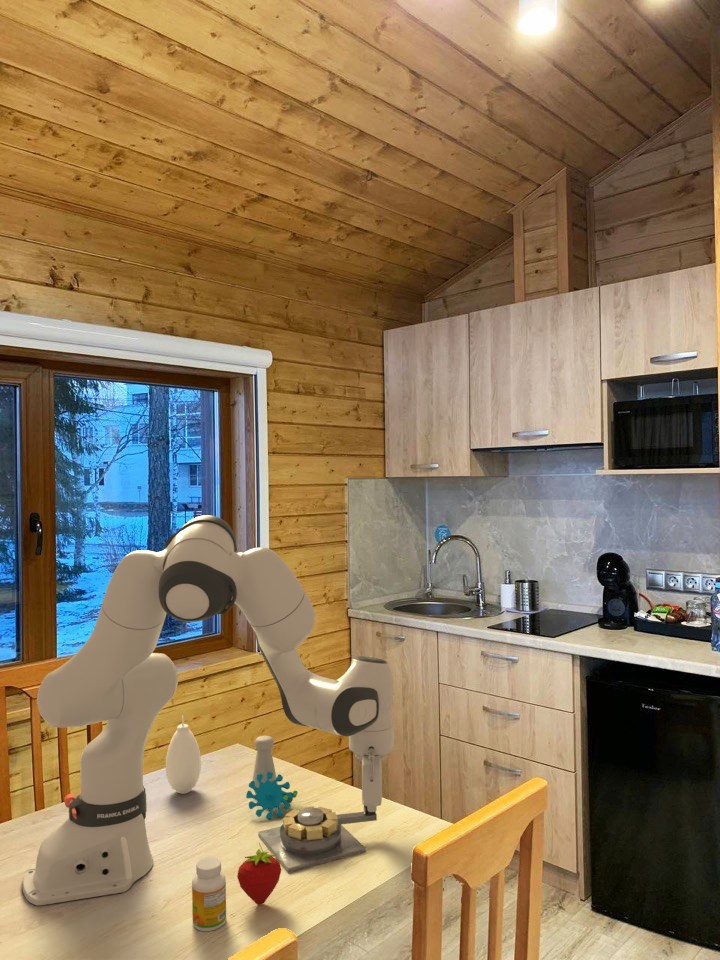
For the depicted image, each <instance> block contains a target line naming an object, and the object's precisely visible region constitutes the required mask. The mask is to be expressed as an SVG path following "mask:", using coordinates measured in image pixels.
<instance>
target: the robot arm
mask: <svg viewBox="0 0 720 960" xmlns="http://www.w3.org/2000/svg"><path fill="white" fill-rule="evenodd" d="M234 604H235V606H237V607H238V608H239V610H241V612H242V613H243V615H244V617H245V618H246V620H247V622H248V624H249V625H250V626H251V628H252V629H253V631H254V633H255V640H256V644H257V646H258V649H259V651H260V653H261V656H262V657H263V660H264V662H265V664H266V666H267V668H268V670H269V672H270V674H271V675H272V678H273V680H274V682H275V683H276V686H277V688H278V691H279V695H280V700H281V705H282V709H283V712H284V714H285V717H286V718H287V719H288V720H289V721H290V722H291V723H293V724H294V725H297V726H303V727H307V728H313V729H317V730H320V731H323V732H326V733H330V734H333V735H336V736H340V737H348V749H349V751H351V752H352V753H354V754H355V758H356V759H357V760H358V761H361V802H362V806H363V807H364V806H367V810H368V811H369V812H375V811H376V812H377V810H378V809H377V808H378V807H379V806H381V805H382V802H383V793H382V792H383V788H382V787H383V784H382V775H383V773H382V761H384V760H386V759H387V758H388V753H390V752H392V751H393V750H394V748H395V745H394V743H395V742H394V741H395V738H394V730H395V729H394V727H395V726H394V719H393V714H392V708H393V705H394V683H393V676H392V675H393V674H392V670H391V666H390V664H389V663H388V662H387V661H386V660H384V659H380V658H377V657H369V656H356V657H353V658H352V659H351V662H350V666H349V668H348V669H347V671H345V673H344V674H343V675H342V676H340V677H339V678H337V679H332V678H328V677H324V676H321V675H318V674H316V673H313V672H311V671H310V670H309V669H308V668H306V666H305V665H304V663H303V660H302V659H301V656H300V653H298V647H300V646H301V645H302V644H303V643H304V642H305V641H306V640H307V639H308V638H309V636H310V635H311V633H312V631H313V629H314V628H315V627H314V626H315V622H316V613H315V610H314V606H313V604H312V601H311V599H310V598H309V596H308V594H307V592H306V591H305V588H304V587H303V586H302V584H301V582H300V581H299V579H298V578H297V576H296V575H295V574H294V572H293V571H292V570H291V568H290V567H289V565H287V563H286V562H285V561H284V560H283V559H282V558H281V557H280V556H279V554H277V552H275V551H274V550H273V549H271V548H268V547H263V546H262V547H259V546H258V547H253V548H250V549H247V550H246V551H244V552H237V541H236V536H235V534H234V531H233V529H232V527H231V526H230V524H229V523H228V522H226V521H225V520H224V519H222V518H221V517H219V516H215V515H212V514H211V515H209V514H207V515H200V516H196V517H195V518H194V517H193V518H192V519H190V520H189V521H188V522H186V523H184V525H183V526H182V527H181V528H179V529H178V530H177V531H176V532H175V533H173V534H172V535H171V536H170V537H168V538H167V539H166V541H165V548H164V549H163V550H161V551H158V552H156V551H153V550H146V549H144V550H142V549H141V550H135V551H132V552H129V553H127V554H126V555H124V556H123V558H122V559H121V560H119V563H118V564H117V566H116V568H115V570H114V571H113V573H112V575H111V578H110V580H109V582H108V585H107V588H106V589H105V593H104V595H103V599H102V602H101V607H100V610H99V613H98V617H97V619H96V622H95V625H94V627H93V630H92V632H91V634H90V636H89V638H88V639H87V640H86V641H85V643H84V644H83V645H82V646H81V648H80V649H79V650H78V651H77V652H76V653H75V654H74V655H72V657H70V659H69V660H67V661H66V662H65V663H63V664H62V665H61V666H59V667H58V668H56V669H54V670H53V671H50V672H49V673H47V674H46V676H44V678H43V679H42V680H41V683H40V685H39V687H38V691H37V696H36V703H37V709H38V711H39V714H40V716H41V718H42V719H43V720H44V721H45V722H46V723H47V724H48V725H49V726H51V727H52V728H78V727H79V728H81V727H84V726H88V725H89V726H90V725H94V724H97V723H103V722H106V721H107V722H106V725H105V726H104V727H103V729H102V731H101V732H100V733H99V734H98V735H97V736H96V737H95V738H94V739H92V740H91V741H90V742H88V744H86V746H85V747H84V749H83V751H82V753H81V756H80V759H79V772H80V773H79V774H80V775H79V777H80V794H79V795H77V796H76V795H74V793H67V795H65V797H64V799H63V802H64V806H65V807H66V808H68V818H67V819H66V820H65V821H64V822H62V823H61V824H60V825H59V826H58V827H57V828H56V829H55V830H53V831H52V832H51V833H50V834H49V835H48V836H46V837H45V838H44V839H43V841H42V842H41V844H40V846H39V849H38V853H37V856H36V860H35V861H36V862H35V863H32V864H31V865H29V867H28V868H27V869H26V871H25V872H24V874H23V877H22V891H23V895H24V897H25V899H26V900H27V901H28V902H29V903H30V904H32V905H34V906H44V905H52V904H57V903H64V902H65V903H66V902H70V901H76V900H82V899H88V898H95V897H102V896H108V895H114V894H119V893H120V894H121V893H125V892H126V891H128V890H129V889H130V888H131V887H132V885H133V884H134V882H136V881H137V880H139V879H140V878H141V877H144V876H145V875H146V874H147V873H148V872H149V871H150V870H151V869H152V867H153V864H154V858H153V855H152V852H151V849H150V844H149V840H148V835H147V829H146V819H147V817H146V816H147V810H148V809H147V792H146V788H145V786H144V761H145V760H144V759H145V748H146V747H145V746H146V743H147V738H148V735H149V734H150V731H151V728H152V726H153V724H154V722H155V720H156V719H157V717H158V716H159V714H160V713H161V712H162V710H163V708H165V706H166V705H167V704H168V703H169V702H170V701H171V700H172V699H173V698H174V696H175V693H176V691H177V688H178V684H179V676H178V671H177V667H176V665H175V664H174V662H173V660H171V659H172V658H170V657H169V656H168V655H167V654H165V653H160V652H154V651H155V650H156V647H157V645H158V642H159V640H160V636H161V632H162V630H163V627H164V624H165V620H166V616H167V615H168V616H170V617H171V618H173V619H175V620H177V621H180V622H187V623H197V622H200V621H201V622H202V621H205V620H208V619H210V618H213V617H214V616H216V615H224V614H226V613H228V612H229V611H231V609H232V608H233V606H234Z"/></svg>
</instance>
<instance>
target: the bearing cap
mask: <svg viewBox="0 0 720 960" xmlns="http://www.w3.org/2000/svg"><path fill="white" fill-rule="evenodd" d="M298 811H299V810H298ZM322 823H323V811H322V810H321V809H318V807H314V808H304V809H302V810H300V811H299V812H298V823H297V824H300V825H303V826H314V825H320V824H322ZM257 835H258V837H259V838H260V840H261V841H262V842H263V844H265V846H266V847H267V848H268V850H269V851H270V852H271V854H272V855H276V856H274V858H275V859H276V860H278V861H279V863H280V865H281V866H282V867H283V868H284V870H285V871H286V872H287V873H292V872H296V871H299V870H304V869H307V868H311V867H314V866H319V865H321V864H325V863H329V862H333V861H336V860H340V859H343V858H347V857H351V856H354V855H359V854H361V853H365V852H366V849H367V848H366V846H365V845H364V844H362V843H361V841H359V840H358V839H357V838H356V837H355V836H354V835H353V834H352V833H350V831H349V830H348V829H346V828H345V827H344V826H343V824H341V825H338V828H337V831H336V832H334V833H333V834H331V835H330V836H329V837H326V836H323V839H318V840H309V841H307V839H306V837H305V838H303V839H302V840H298V839H295V838H292V837H289V836H288V834H285V831H284V828H283V824H282V825H281V826H278V827H277V826H276V827H272V828H268V829H265V830H260V831H258V832H257Z"/></svg>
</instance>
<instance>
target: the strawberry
mask: <svg viewBox="0 0 720 960" xmlns="http://www.w3.org/2000/svg"><path fill="white" fill-rule="evenodd" d="M258 845H259V847H260V848H258V849H257V851H256V852H255V854H254V855H249V856H244V859H246V860H245V861H243V862H242V863H241V864H240V866H239V867H238V870H237V875H236V877H237V881H238V883H239V886H240V888H241V890H243V892H244V893H245V894H246V895H247V897H249V899H250V900H252V901H253V902H254V903H255V904H256V905H257V906H261V905H262V906H263V904H265V903H266V901H267V899H268V898H269V897H270V896H271V895H272V893H273V892H274V890H275V888H276V886H277V884H278V883H279V881H280V877H281V874H282V873H281V872H282V867H281V863H280V862H279V861H278V859H277V858H276V857H275V856H276V855H274V854H269V851H264V850H263V848H262V846H261V844H260V842H258ZM260 849H261V850H260Z"/></svg>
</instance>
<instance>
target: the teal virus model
mask: <svg viewBox="0 0 720 960" xmlns="http://www.w3.org/2000/svg"><path fill="white" fill-rule="evenodd" d="M272 776H273V773H272V772H268V773H267V780H266V782H265V783H262V782H261V780H262V778H263V775H262V774H259V775H257V777H256V779H257V780H258V782H259V787H258V788H257V787H255V782H254V781H252V780H251V781H250V782H249V784H248V787H249V788H250V789H252V790H253V789H254V790H255V792H256V794H253V792H252V790H247V792H246V794H245V796H246V797H245V798H246V799H254V800H256V802H255V801H253V800H252V801H251V800H250V801H249V802H248V808H249V810H253V809H254V808H255V807H262V808H261V809H256V810H255V815H256V816H257V817H258V818H260V817H262V814H263V813H264V811H265V812H266V810H269V812H267V813H266V815H265V819H267V820H272V819H273V811H274V810H275V809H277V811H276V818H279V817H283V816H284V811H283V810H282V809H281V804H283V808H284V810H286V811H287V810H289V809H290V807H291V803H292V802H293V799H295V798H297V795H298V794H299V793H298V791H297V790H293V791H292V792H291V791H289V792H286V791H284V790H282V789H285V790H289V789H290V787H291V785H290V782H289V781H286V782H285V783H282V784H279V783H278V784H277V783H276V782H280V783H281V782H282V781H283V779H284V777H283V775H282V774H280V773H279V774H277V775H276V777H277V778H276V779H275V780H274V781H272V782H270V781H269V779H270V778H272ZM254 790H253V791H254ZM255 792H254V793H255Z"/></svg>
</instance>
